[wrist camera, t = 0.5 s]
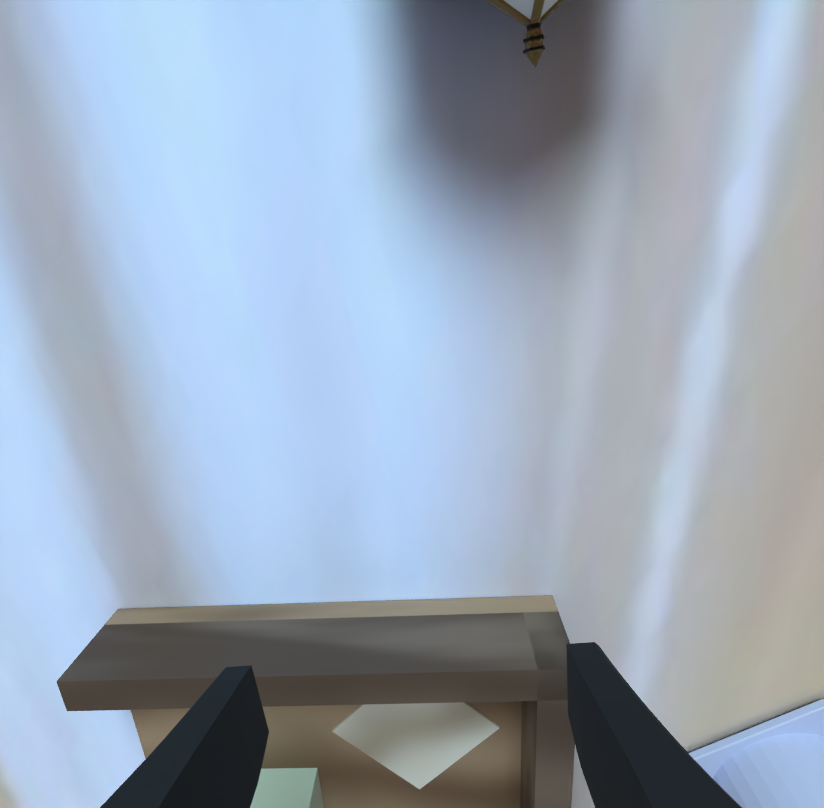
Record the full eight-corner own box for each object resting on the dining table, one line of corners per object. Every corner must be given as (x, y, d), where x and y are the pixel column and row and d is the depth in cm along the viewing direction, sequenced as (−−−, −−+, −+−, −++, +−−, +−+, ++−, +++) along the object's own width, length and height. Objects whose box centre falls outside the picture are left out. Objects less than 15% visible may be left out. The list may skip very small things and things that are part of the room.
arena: (541, 886, 28) (560, 986, 24) (199, 888, 29) (165, 985, 25) (552, 595, 22) (579, 668, 18) (118, 608, 23) (56, 681, 19)
